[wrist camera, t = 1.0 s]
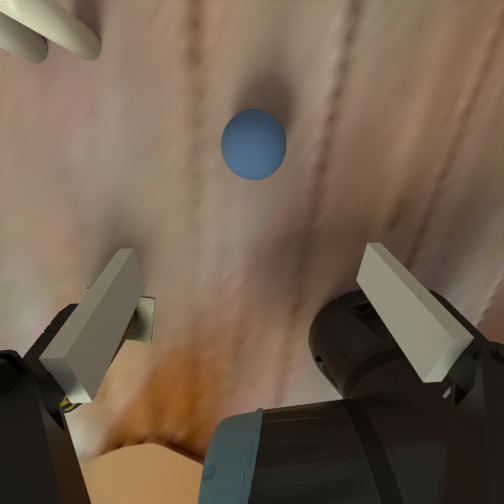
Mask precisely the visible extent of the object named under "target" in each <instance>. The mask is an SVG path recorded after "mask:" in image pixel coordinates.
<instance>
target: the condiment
mask: <svg viewBox="0 0 504 504" xmlns="http://www.w3.org/2000/svg"><path fill="white" fill-rule="evenodd" d="M88 291H89V289H86V293H87V292H88ZM154 300H155V299H150V298H144V297H140V299H139V301H138V303H137V306H136V308H137V309H139V310H140V311H138V310H137V309H135V310H134V312H133V314H132V317H131V319H130V321H129V323H128V325H127V328H126V330H125V332H124V334H123V336H122V339H121V341H120V343H119V345H118V347H117V350H116V352H115V354H114V356H113V358H112V361H111V363H112V362H113V360H114V358H115V357H116V355H117V353H118V352H119V350H120V348H121V347H122V345H123V343H124V342H125V340H136V341H141V342H147V343H151V336H152V325H153V313H154ZM111 363H110V365H111ZM110 365H109V366H110ZM108 368H109V367H108ZM107 370H108V369H107ZM81 404H82V403H71V402H70V400H69V399H68V398H67V396H66V395H65V397H64V399H63V401H62V403H61V404H60V407H61V408H62V409H63V412H64V413H67V412H71V411H72V410H74V409H75V408H77V407H78V406H79V405H81Z"/></svg>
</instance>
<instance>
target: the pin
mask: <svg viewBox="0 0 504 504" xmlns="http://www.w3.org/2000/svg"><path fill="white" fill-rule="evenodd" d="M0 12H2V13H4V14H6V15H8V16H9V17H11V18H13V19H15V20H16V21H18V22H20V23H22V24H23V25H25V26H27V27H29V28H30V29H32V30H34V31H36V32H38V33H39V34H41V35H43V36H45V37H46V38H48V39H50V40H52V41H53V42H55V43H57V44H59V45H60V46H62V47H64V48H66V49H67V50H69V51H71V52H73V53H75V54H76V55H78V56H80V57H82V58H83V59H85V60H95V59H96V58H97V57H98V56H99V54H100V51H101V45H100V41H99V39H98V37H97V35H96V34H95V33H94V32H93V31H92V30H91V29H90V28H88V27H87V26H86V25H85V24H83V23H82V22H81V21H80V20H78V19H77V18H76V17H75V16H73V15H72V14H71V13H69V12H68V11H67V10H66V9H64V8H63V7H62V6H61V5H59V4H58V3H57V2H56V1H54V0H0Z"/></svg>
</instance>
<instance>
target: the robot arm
mask: <svg viewBox="0 0 504 504" xmlns="http://www.w3.org/2000/svg"><path fill="white" fill-rule="evenodd" d="M356 281H357V282H358V284H359V285H360V287H361V288H362V290H360V291H355V292H352V293H348V294H346V295H343V296H341V297H339V298H337V299H336V300H334V301H333V302H331V303H330V304H328V305H327V306H326V307H325V308H324V309H323V310H322V311H321V312H320V313H319V314H318V316H317V317H316V318H315V320H314V322H313V324H312V326H311V329H310V332H309V346H310V350H311V353H312V356H313V359H314V361H315V363H316V365H317V367H318V368H319V370H320V371H321V372H322V373H323V375H324V376H325V377H326V378H327V379H328V381H329V382H330V383H331V384H332V385H333V387H334V388H335V389H336V390H337V391H338V393H339V394H340V395H341V396H342V397H343V399H342V400H333V401H326V402H318V403H311V404H303V405H296V406H288V407H281V408H274V409H266V410H263V408H259V409H257V410H256V411H254V412H249V413H244V414H239V415H234V416H230V417H227V418H225V419H223V420H222V421H221V422H220V423H219V424H218V426H217V427H216V429H215V430H214V432H213V434H212V437H211V439H210V443H209V446H208V450H207V453H206V457H205V462H204V467H203V472H202V478H201V484H200V490H199V497H198V504H504V345H503V344H500V343H497V342H490V341H488V340H487V339H486V338H485V337H484V336H483V335H482V334H481V333H480V332H479V331H478V330H477V329H476V328H475V327H474V326H473V325H472V324H471V323H470V322H469V321H468V320H467V319H466V318H465V317H464V316H463V315H460V313H459V312H458V311H457V310H456V309H455V308H453V306H452V305H451V304H450V303H449V302H448V301H447V300H446V299H445V298H444V297H442V296H441V295H439V294H438V293H436V292H434V291H433V290H427V289H426V288H425V287H424V286H423V285H422V284H421V283H420V282H419V281H418V280H417V279H416V278H415V277H414V276H413V275H412V274H411V273H410V272H409V271H408V270H407V269H406V268H405V267H404V266H403V265H402V264H401V263H400V262H399V261H398V260H397V259H396V258H395V257H394V256H393V255H392V254H391V253H390V252H389V251H388V250H387V249H386V248H385V247H384V246H383V245H382V244H381V243H367V246H366V250H365V253H364V256H363V260H362V263H361V266H360V269H359V273H358V276H357V279H356ZM144 288H145V286H144V282H143V279H142V275H141V272H140V268H139V265H138V261H137V258H136V254H135V251H134V248H125V249H119V250H118V251H117V252H116V254H115V255H114V256H113V258H112V259H111V261H110V262H109V263H108V265H107V266H106V267H105V269H104V270H103V272H102V273H101V274H100V276H99V277H98V278H97V280H96V281H95V282H94V284H93V285H92V287H91V288H90V289H89V291H88V292H87V293H86V295H85V296H84V297H83V299H82V300H81V302H80V303H79V304H69V305H68V306H67V307H65V308H64V309H63V310H61V311H60V312H59V313H58V314H57V315H56V316H55V318H54V319H53V320H52V322H51V324H50V325H48V327H47V328H46V329H45V330H44V333H42V334H41V335H40V337H39V338H38V339H37V340H36V342H35V343H34V344H33V345H32V347H31V348H30V349H29V350H28V352H27V353H26V354H25V355H24V357H23V358H21V356H20V355H19V354H18V353H17V351H14V350H2V351H0V504H91V502H90V498H89V495H88V492H87V488H86V485H85V482H84V478H83V475H82V472H81V468H80V465H79V462H78V459H77V455H76V452H75V449H74V445H73V442H72V439H71V435H70V432H69V429H68V425H67V422H66V419H65V415H64V412H63V409H62V408H61V407H60V404H61V403H62V401H63V399H64V397H65V395H66V396H67V398H68V399H69V400H70V402H71V403H86V402H93V400H94V398H95V396H96V394H97V391H98V389H99V387H100V385H101V383H102V380H103V378H104V376H105V374H106V372H107V369H108V367H109V365H110V363H111V361H112V358H113V356H114V354H115V352H116V350H117V347H118V345H119V343H120V341H121V339H122V336H123V334H124V332H125V330H126V328H127V325H128V323H129V321H130V319H131V317H132V314H133V312H134V310H135V308H136V306H137V303H138V301H139V299H140V297H141V295H142V292H143V290H144Z"/></svg>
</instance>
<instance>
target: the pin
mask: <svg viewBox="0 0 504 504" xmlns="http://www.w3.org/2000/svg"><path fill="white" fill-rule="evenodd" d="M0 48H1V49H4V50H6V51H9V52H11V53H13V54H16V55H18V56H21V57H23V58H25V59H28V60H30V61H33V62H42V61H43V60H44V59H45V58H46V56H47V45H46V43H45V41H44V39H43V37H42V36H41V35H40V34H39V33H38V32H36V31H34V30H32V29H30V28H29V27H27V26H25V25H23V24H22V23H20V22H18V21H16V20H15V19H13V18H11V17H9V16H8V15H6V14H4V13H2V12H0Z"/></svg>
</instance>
